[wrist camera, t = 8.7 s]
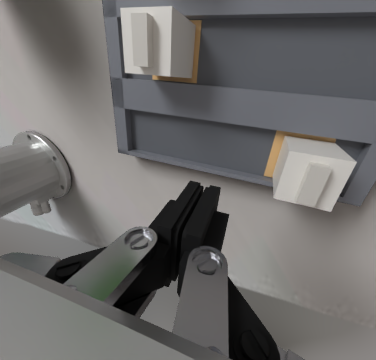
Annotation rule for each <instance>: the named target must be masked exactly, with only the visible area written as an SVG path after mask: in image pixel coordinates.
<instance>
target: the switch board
mask: <svg viewBox="0 0 376 360" xmlns="http://www.w3.org/2000/svg"><path fill="white" fill-rule="evenodd" d="M102 4H103V13H104V23H105V32H106V42H107V51H108V60H109V70H110V79H111V88H112V98H113V107H114V117H115V126H116V135H117V145H118V153H123V154H127V155H132V156H136V157H140V158H145V159H149V160H154V161H158V162H163V163H167V164H172V165H176V166H181V167H185V168H190V169H194V170H199V171H203V172H208V173H212V174H217V175H221V176H226V177H230V178H235V179H239V180H244V181H248V182H253V183H257V184H262V185H266V186H271V187H273V172H274V169H275V165H276V162H277V159H278V156H279V153H280V149H281V146H282V143H283V140H284V137H285V136H291V137H298V138H304V139H311V140H318V141H325V142H331V143H336V144H337V145H338V146H339V147H340V148H341V149H342V150H344V151H345V152H346V153H347V154H348V155H349V156H350V157H352V158H353V159H354V160H355V161H356V162H357V163H356V165H355V167H354V169H353V171H352V173H351V174H350V176H349V178H348V180H347V182H346V184H345V186H344V188H343V190H342V192H341V193H340V195H339V197H338V199H337V201H338V202H342V203H347V204H351V205H356V206H361V204H362V202H363V201H364V199H365V197H366V196H367V194H368V193H369V191H370V189H371V188H372V186H373V184H374V183H375V181H376V0H102ZM158 6H173V7H174V8H175V9H176V10H177V11H179V12H180V13H181V14H182V15H184V16H185V17H186V18H187V19H189V20H190V21H191V22H192V23H193V24H195V25H196V30H195V44H194V58H193V72H192V78H182V77H169V76H157V75H144V74H132V73H125V66H124V53H123V39H122V25H121V12H120V8H129V7H158Z"/></svg>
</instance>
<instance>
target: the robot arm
mask: <svg viewBox="0 0 376 360" xmlns="http://www.w3.org/2000/svg"><path fill="white" fill-rule="evenodd" d="M70 187H71V175H70V171H69V168H68V166H67V163H66V161H65V159H64V158H63V156H62V155H61V153H60V152H59V150H58V149H57V148H56V147H55V146H54V144H52V143H51V142H50V141H49V140H48V139H47V138H45V137H44V136H42V135H40V134H38V133H36V132H32V131H26V132H21V133H19V134H17V135H16V136H15V138H14V140H13V145H10V146H5V147H1V148H0V217H2V216H4V215H6V214H8V213H10V212H12V211H14V210H16V209H18V208H20V207H22V206H25V205H27V204H29V203H30V205H31V209H32V212H33V215H35V216H38V215H42V214H44V213H49V212H51V207H50V204H49V202H48V201H49V199H51V198H60V197H62V196H64V195H65V194H67V193H68V192H69V190H70ZM220 189H221V187H216V186H212V185H210V187H206V188H205V190H204V192H203V186H200V183H198V182H194V181H190V182H189V183H188V185H187V186H186V187H185V189H184V190H183V191H182V193H181V194H180V196H179V197H178V198H177V200H176V201H175V200H170V201H169V202H168V203H167V204H166V206H165V207H164V208H163V209H162V211H161V212H160V213H159V214H158V216H157V217H156V218H155V220H154V221H153V222H152V223H151V225H150V226H149V227H148V228H147V227H134V228H132V229H129V230H128V231H126V232H125V233H124V234H122V235H121V236H120V237H119V238H118V239H116V240H115V241H114V242H113V243H112V244H110V245H109V246H107V247H104V248H100V249H97V250H93V251H90V252H86V253H82V254H78V255H75V256H71V257H68V258H66V259H63V260H61V259H60V258H59V257H51V256H42V255H34V254H25V253H9V254H5V255H2V256H0V360H305V359H303V358H302V357H300V356H299V355H297V354H295V353H294V352H292V351H291V350H289V349H288V351H287V352H286V351H285V350H283V349H282V348H280V347H279V346H277V345H276V343H275V341H274V340H273V338H272V336H271V335H270V333H269V332H268V331H267V329H266V328H265V326H264V325H263V324H262V322H261V321H260V320H259V318H258V317H257V315H256V314H255V313H254V311H253V310H252V309H251V307H250V306H249V304H248V303H247V302H246V300H245V299H244V298H243V296H242V295H241V293H240V292H239V291H238V290H237V288H236V287H235V285H234V284H233V282H232V281H231V280H230V278H229V277H228V265H227V260H226V258H225V256H224V255H223V254H222V253H221V249H222V245H223V240H224V236H225V232H226V227H227V222H228V218H229V214H226V213H222V212H218V211H217V206H218V201H219V195H220ZM178 274H179V276H178ZM177 277H178V288H177V293H178V295H179V303H178V308H177V312H176V317H175V321H174V326H173V331H172V333H171V332H169V331H167V330H165V329H162V328H160V327H158V326H156V325H153V324H151V323H149V322H147V321H144V320H142V319H140V317H141V315H142V314H143V312H144V311H145V309H146V307H147V306H148V305H149V303H150V302H151V300H152V299H153V297H154V296H155V294H156V291H157V289H160V288H162V287H163V286H167V287H169V285H170V283H171V281H172V280H173V281H176V279H177Z"/></svg>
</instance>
